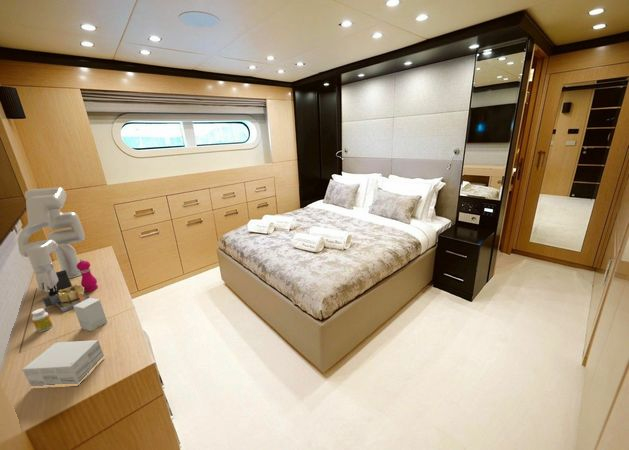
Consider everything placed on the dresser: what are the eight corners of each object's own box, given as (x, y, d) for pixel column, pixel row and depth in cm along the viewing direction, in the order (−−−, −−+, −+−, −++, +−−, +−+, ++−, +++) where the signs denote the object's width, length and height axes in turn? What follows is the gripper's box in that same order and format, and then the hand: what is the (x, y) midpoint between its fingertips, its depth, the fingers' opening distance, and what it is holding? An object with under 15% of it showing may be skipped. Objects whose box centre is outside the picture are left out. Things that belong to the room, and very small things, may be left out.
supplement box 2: (107, 321, 127) (100, 299, 123) (91, 331, 121) (83, 308, 117) (97, 319, 130) (90, 297, 126) (80, 328, 123) (72, 305, 119)
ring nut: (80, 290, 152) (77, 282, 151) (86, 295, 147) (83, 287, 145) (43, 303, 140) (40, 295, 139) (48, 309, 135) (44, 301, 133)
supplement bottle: (42, 333, 121) (34, 315, 118) (34, 331, 122) (26, 313, 119) (55, 325, 126) (49, 308, 123) (47, 323, 127) (40, 306, 124)
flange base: (54, 302, 145) (50, 293, 143) (81, 292, 154) (78, 283, 153) (62, 312, 136) (59, 302, 134) (91, 300, 145) (88, 291, 144)
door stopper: (58, 288, 160) (52, 271, 156) (71, 285, 163) (65, 267, 160) (58, 294, 153) (51, 276, 149) (71, 290, 157) (65, 272, 153)
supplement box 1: (105, 358, 106) (99, 339, 103) (78, 387, 93) (70, 366, 90) (63, 360, 105) (55, 341, 102) (30, 389, 93) (20, 369, 90)
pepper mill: (102, 286, 161) (92, 256, 155) (91, 292, 154) (81, 261, 148) (91, 285, 161) (81, 256, 155) (80, 292, 155) (69, 261, 148)
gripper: (41, 263, 143) (52, 292, 149) (26, 275, 130) (39, 306, 136) (58, 260, 146) (69, 289, 152) (46, 271, 133) (58, 302, 139)
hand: (55, 297), depth 144 cm, fingers closed
